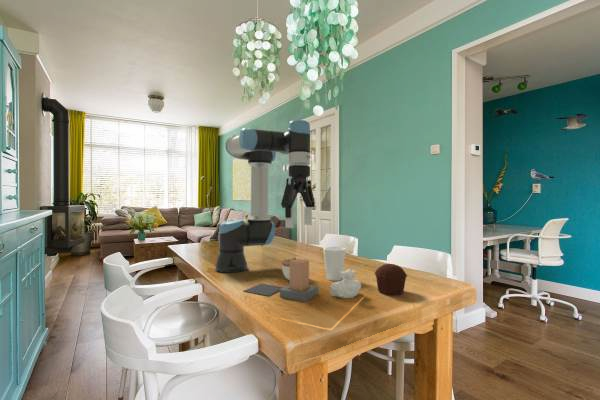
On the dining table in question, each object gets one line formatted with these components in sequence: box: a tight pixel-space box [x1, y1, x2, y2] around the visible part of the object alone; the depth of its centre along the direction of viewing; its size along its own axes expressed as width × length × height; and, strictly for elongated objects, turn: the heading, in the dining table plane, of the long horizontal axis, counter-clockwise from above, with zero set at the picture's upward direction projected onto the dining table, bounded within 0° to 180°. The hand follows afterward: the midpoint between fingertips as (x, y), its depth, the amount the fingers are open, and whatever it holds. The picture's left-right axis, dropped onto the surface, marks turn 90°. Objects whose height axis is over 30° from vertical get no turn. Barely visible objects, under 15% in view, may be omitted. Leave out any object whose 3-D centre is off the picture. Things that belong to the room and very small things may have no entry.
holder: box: [279, 284, 319, 303], centre depth 107 cm, size 10×10×3 cm
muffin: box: [374, 263, 408, 297], centre depth 113 cm, size 12×11×10 cm
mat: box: [243, 283, 285, 298], centre depth 113 cm, size 11×11×1 cm
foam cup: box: [322, 246, 346, 282], centre depth 131 cm, size 10×9×13 cm
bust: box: [329, 268, 362, 299], centre depth 106 cm, size 12×8×11 cm
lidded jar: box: [281, 257, 297, 281], centre depth 129 cm, size 11×11×9 cm
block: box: [289, 258, 310, 291], centre depth 107 cm, size 5×5×12 cm
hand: (299, 226), depth 107 cm, fingers open, 13 cm apart
